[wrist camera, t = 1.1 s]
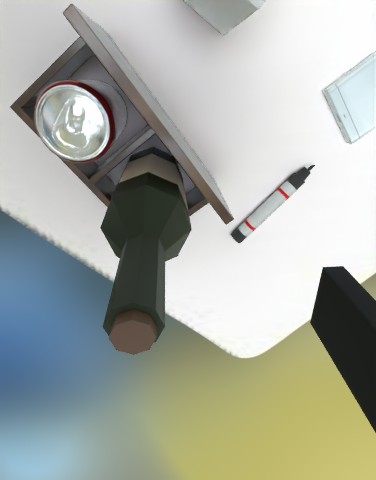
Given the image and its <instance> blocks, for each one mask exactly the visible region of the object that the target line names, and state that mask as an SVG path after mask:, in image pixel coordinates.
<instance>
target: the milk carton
mask: <svg viewBox="0 0 376 480" xmlns="http://www.w3.org/2000/svg"><path fill="white" fill-rule="evenodd" d="M184 1H185V2H186V3H187V4H188V5H189V6H190V7H191V8H193V9H194V10H195V11H196V12H197V13H198V14H199V15H200V16H202V17H203V18H204V19H205V20H206V21H207V22H208V23H209V24H211V25H212V26H213V27H214V28H215V29H216V30H217V31H219V32H220V33H221V34H222V35H225V34H226V33H228V32H229V31H230V30H232V29H233V28H234V27H235V26H237V25H238V24H239V23H241V22H242V21H243V20H245V19H246V18H247V17H249V16H250V15H251V14H253V13H254V12H255V11H256V10H258V9H259V8H260V7H261V6H262V4H263V3H264V2H265V0H184Z"/></svg>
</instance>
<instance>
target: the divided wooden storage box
mask: <svg viewBox="0 0 376 480" xmlns="http://www.w3.org/2000/svg"><path fill="white" fill-rule="evenodd" d="M63 15H64V16H65V17H66V19H67V20H68V21H69V22H70V24H71V25H72V26H73V28H74V29H75V30H76V31H77V33H78V34H79V35H80V37H79V38H78V39H77V40H76V41H75V42H74V43H73V44H72V45H71V46H70V47H69V48H68V49H67V50H66V51H65V52H64V53H63V54H62V55H61V56H60V57H59V58H58V59H57V60H56V61H55V62H54V63H53V64H52V65H51V66H50V67H49V68H48V69H47V70H46V71H45V72H44V73H43V74H42V75H41V76H40V77H39V78H38V79H37V80H36V81H35V82H34V83H33V84H32V85H31V86H30V87H29V88H28V89H27V90H26V91H25V92H24V93H23V94H22V95H21V96H20V97H19V98H18V99H17V100H16V101H15V102H14V103H13V104H12V105H11V106H10V107H11V108H12V109H13V110H14V112H15V113H16V114H17V115H18V116H19V117H20V118H21V119H22V120H23V121H24V122H25V123H26V124H27V125H28V126H29V127H30V128H31V129H32V130H33V131H34V132H35V133H36V134H37V135H38V136H39V134H38V132H37V129H36V125H35V119H34V111H35V105H36V102H37V99H38V97H39V96H40V94H41V92H42V91H43V90H44V89H45V88H46V87H48V86H49V85H51V84H53V83H55V82H58V81H62V80H67V79H68V78H69V77H70V76H71V75H72V74H73V73H74V72H75V71H76V70H77V69H78V68H79V67H80V66H81V65H82V64H83V63H84V62H85V61H87V60H88V59H89V58H90V57H91V56H92V55H93V54H94V55H95V56H96V57H97V59H98V60H99V61H100V62H101V64H102V65H103V66H104V68H105V69H106V70H107V72H108V73H109V74H110V75H111V77H112V78H113V79H114V81H115V82H116V83H117V84H118V86H119V87H120V88H121V90H122V91H123V92H124V93H125V95H126V96H127V97H128V99H129V100H130V101H131V103H132V104H133V105H134V106H135V108H136V109H137V110H138V112H139V113H140V114H141V115H142V117H143V118H144V119H145V121H146V122H147V123H148V124H149V125H148V126H146V127H145V128H144V129H143V130H142V131H140V132H139V133H138V134H137V135H136V136H135V137H133V138H132V139H131V140H130V141H129V142H127V143H126V144H125V145H124V146H123V147H121V148H120V149H119V150H118V151H117V152H116V153H114V154H113V155H112V156H111V157H110V158H108V159H107V160H106V161H105V162H104V163H102V164H101V165H100V166H99V167H98V166H97V164H96V163H95V162H94V161H91V162H88V163H75V162H70V161H67V160H64V159H62V158H60V157H59V156H58V157H59V158H60V159H61V160H62V161H63V162H64V163H65V164H66V165H67V166H68V167H69V168H70V169H71V170H72V171H73V172H74V173H75V174H76V175H77V176H78V177H79V178H80V179H81V180H82V182H83V183H84V184H85V185H86V186H87V187H88V188H89V189H90V190H91V191H92V192H93V193H94V194H95V195H96V196H97V197H98V198H99V199H100V200H101V201H102V202H103V203H104V204H105V205H106V206H107V207H108V206H109V204H110V201H111V198H112V196H113V194H114V192H115V189H116V187H117V186H116V185H115V184H114V183H113V182H112V181H111V180H110V179H109V178H108V176H107V175H106V174H107V173H108V172H109V171H111V170H112V169H113V168H114V167H115V166H117V165H118V164H119V163H120V162H121V161H123V160H124V159H125V158H126V157H127V156H129V155H130V154H131V153H132V152H133V151H135V150H136V149H137V148H138V147H140V146H141V145H142V144H143V143H144V142H146V141H147V140H148V139H149V138H150V137H152V136H153V135H154V134H156V135H157V136H158V137H159V139H160V140H161V141H162V143H163V144H164V145H165V146H166V148H167V149H168V150H169V152H170V153H171V154H172V155H173V157H174V158H175V159H176V161H177V162H178V163H179V165H180V166H181V167H182V168H183V170H184V171H185V172H186V174H187V175H188V176H189V177H190V179H191V180H192V181H193V183H194V184H195V185H196V186H197V187H195V188H194V189H193V190H191V191H190V192H188V193H187V194H186V201H187V206H188V212H189V216H191V215H192V214H193V213H195V212H196V211H198V210H199V209H200V208H202V207H203V206H205V205H206V204H207V203H210V205H211V206H212V207H213V208H214V210H215V211H216V212H217V214H218V215H219V216H220V217H221V219H222V220H223V221H224V223H225V224H228V223H229V222H231V221H232V220H234V218H233V216H232V214H231V212H230V210H229V208H228V206H227V204H226V202H225V200H224V198H223V196H222V194H221V192H220V190H219V188H218V186H217V184H216V182H215V180H214V178H213V177H212V175H211V174H210V173H209V171H208V170H207V169H206V167H205V166H204V164H203V163H202V162H201V160H200V159H199V158H198V156H197V155H196V154H195V152H194V151H193V149H192V148H191V147H190V145H189V144H188V143H187V141H186V140H185V138H184V137H183V136H182V134H181V133H180V132H179V130H178V129H177V128H176V126H175V125H174V123H173V122H172V121H171V119H170V118H169V117H168V115H167V114H166V113H165V111H164V110H163V108H162V107H161V106H160V104H159V103H158V102H157V100H156V99H155V98H154V96H153V95H152V93H151V92H150V91H149V89H148V88H147V87H146V85H145V84H144V83H143V81H142V80H141V78H140V77H139V76H138V74H137V73H136V72H135V70H134V69H133V67H132V66H131V65H130V63H129V62H128V61H127V59H126V58H125V57H124V55H123V54H122V52H121V51H120V50H119V48H118V47H117V46H116V44H115V43H114V42H113V40H112V39H111V37H110V36H109V35H108V33H107V32H106V31H105V30H104V29H103V28H101V27H100V26H99V25H98V24H96V23H95V22H94V21H93V20H92V19H90V18H89V17H88V16H87V15H85V14H84V13H83V12H82V11H80V10H79V9H78V8H77V7H76V6H74V5H73V4H70V6H69V7H68V8H67V9H66V10H65V11H64V12H63ZM39 137H40V136H39Z"/></svg>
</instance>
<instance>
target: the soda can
mask: <svg viewBox="0 0 376 480" xmlns="http://www.w3.org/2000/svg"><path fill="white" fill-rule="evenodd" d="M34 119H35V125H36V129H37V132H38V134H39V136H40V138H41V140H42V141H43V143H44V144H45V145H46V146H47V147H48V148H49V150H50V151H52V152H53V153H54V154H56V155H57V156H59V157H60V158H62V159H64V160H67V161H70V162H75V163H88V162H91V161H95V160H96V159H98V158H100V157H101V156H103V155H104V154H105V153H106V152H107V151H108V149H109V148H110V147H111V146H112V144H113V143H114V142H115V141H116V140H117V138H118V137H119V136H120V135H121V133H122V132H123V130H124V128H125V126H126V122H127V108H126V105H125V102H124V100H123V98H122V96H121V95H120V94H119V93H118V91H117V90H116V89H115V88H113V87H112V86H111V85H109V84H107V83H105V82H102V81H98V80H62V81H58V82H55V83H53V84H51V85H49V86H48V87H46V88H45V89H44V90H43V91H42V92H41V94H40V96H39V97H38V99H37V102H36V105H35V111H34Z"/></svg>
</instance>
